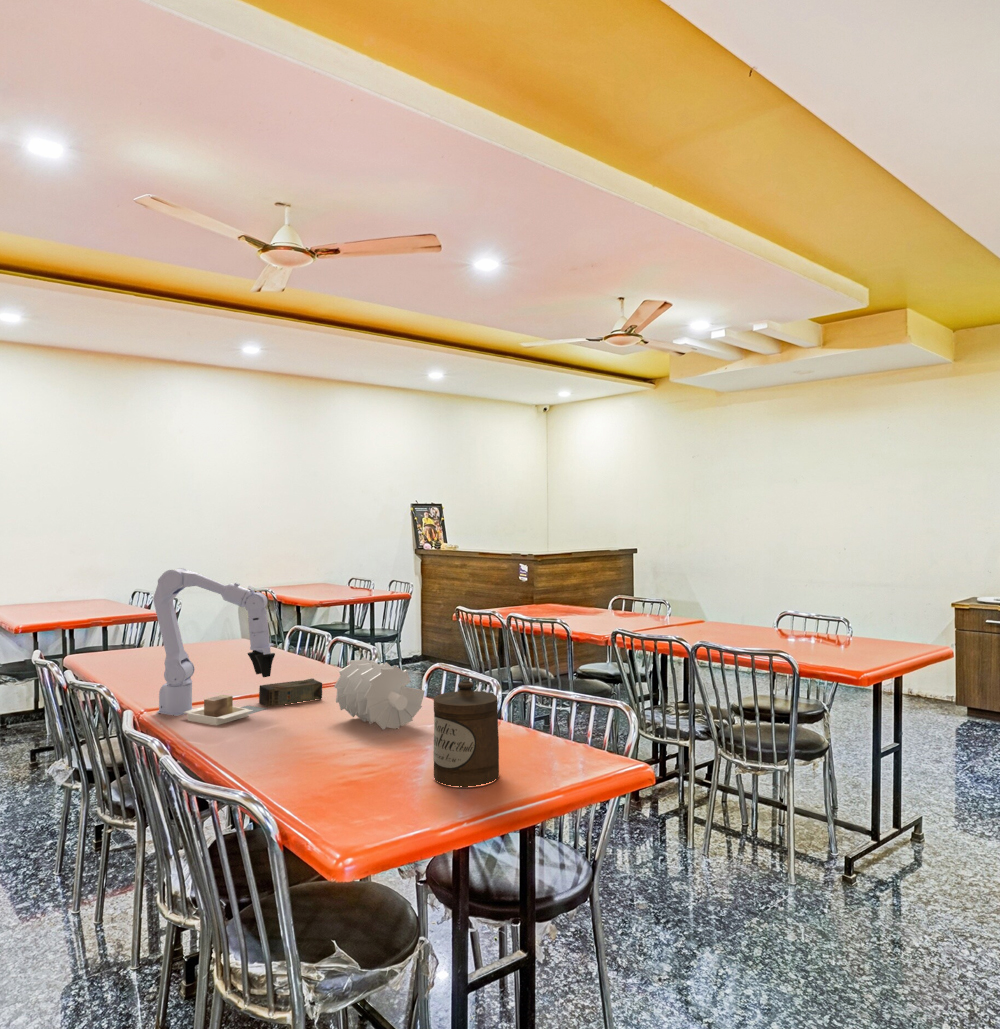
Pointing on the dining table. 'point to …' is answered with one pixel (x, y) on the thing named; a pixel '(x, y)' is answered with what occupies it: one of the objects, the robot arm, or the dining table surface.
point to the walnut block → (218, 706)
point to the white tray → (199, 716)
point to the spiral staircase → (377, 693)
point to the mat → (254, 709)
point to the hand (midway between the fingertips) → (263, 675)
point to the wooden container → (466, 737)
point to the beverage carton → (289, 692)
